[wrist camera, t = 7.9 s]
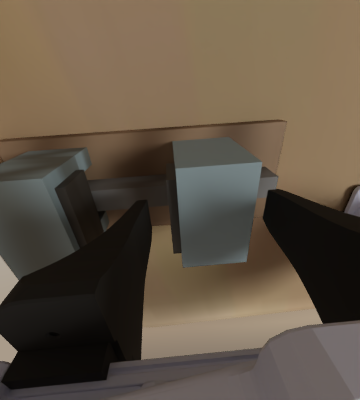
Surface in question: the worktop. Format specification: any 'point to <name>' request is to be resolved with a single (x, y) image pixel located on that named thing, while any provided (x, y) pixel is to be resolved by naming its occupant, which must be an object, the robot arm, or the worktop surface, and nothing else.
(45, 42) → the worktop surface
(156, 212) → the rail base
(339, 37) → the worktop surface
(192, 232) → the block
